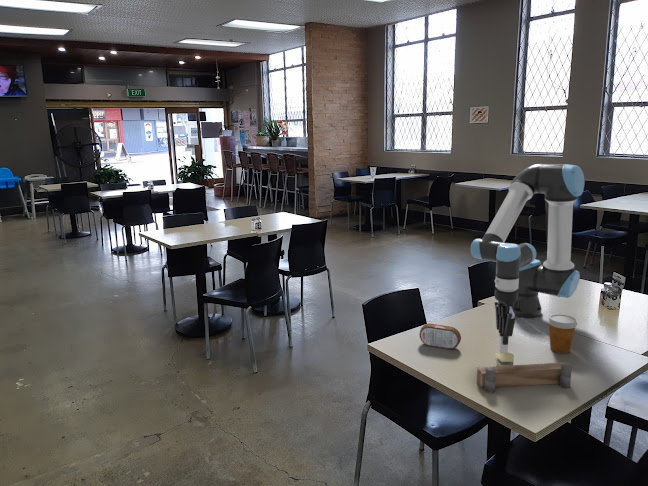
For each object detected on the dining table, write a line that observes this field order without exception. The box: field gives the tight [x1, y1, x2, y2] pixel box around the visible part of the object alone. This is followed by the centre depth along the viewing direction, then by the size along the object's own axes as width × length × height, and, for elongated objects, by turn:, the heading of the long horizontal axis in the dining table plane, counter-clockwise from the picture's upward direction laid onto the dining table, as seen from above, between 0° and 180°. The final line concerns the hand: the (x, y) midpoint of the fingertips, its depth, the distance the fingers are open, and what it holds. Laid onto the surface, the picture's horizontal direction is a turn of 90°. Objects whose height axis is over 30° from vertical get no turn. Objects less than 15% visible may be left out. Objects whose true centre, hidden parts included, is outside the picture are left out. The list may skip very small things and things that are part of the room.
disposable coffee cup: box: [547, 313, 578, 354], centre depth 177 cm, size 10×10×12 cm
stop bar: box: [476, 361, 573, 394], centre depth 154 cm, size 7×28×7 cm, turn 94°
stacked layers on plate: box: [494, 351, 515, 366], centre depth 163 cm, size 10×9×6 cm
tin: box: [418, 323, 462, 350], centre depth 183 cm, size 15×3×8 cm, turn 65°
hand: (503, 351), depth 176 cm, fingers closed
